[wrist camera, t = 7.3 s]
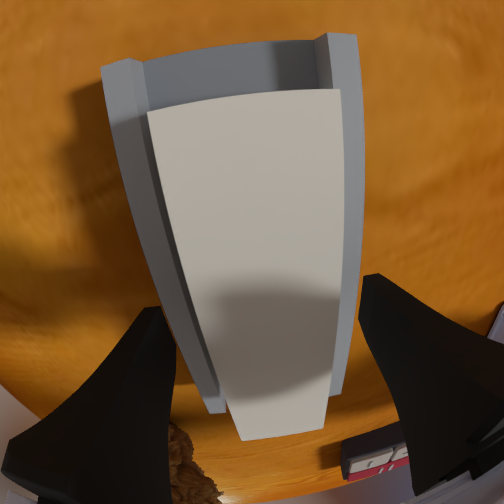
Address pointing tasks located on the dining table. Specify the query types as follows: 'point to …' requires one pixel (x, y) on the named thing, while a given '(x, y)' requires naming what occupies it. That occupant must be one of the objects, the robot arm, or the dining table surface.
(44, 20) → the dining table surface
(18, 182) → the dining table surface
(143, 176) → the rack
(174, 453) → the stuffed squirrel
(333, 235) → the white rectangular block
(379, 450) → the calculator
